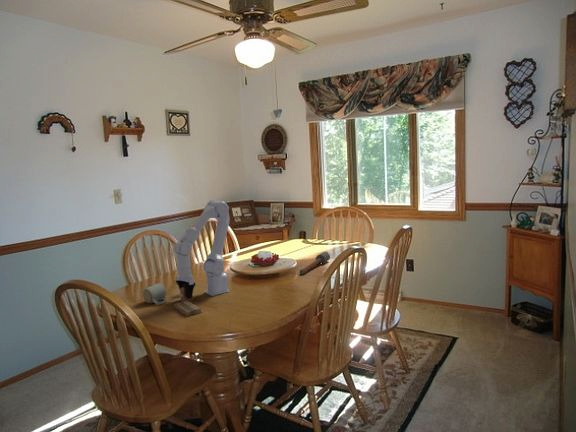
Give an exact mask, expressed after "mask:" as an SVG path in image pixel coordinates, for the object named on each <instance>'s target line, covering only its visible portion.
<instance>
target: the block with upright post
mask: <svg viewBox="0 0 576 432" xmlns="http://www.w3.org/2000/svg"><path fill="white" fill-rule="evenodd" d="M179 292H180V293H179V294H175V295H172V296H168V300H170V301H173V300H176V299H180V302H183V301H189V302H193V301H194V297H193V294H192V298H189V299H187V297H186V292H185V289H184V287H182V288H180V289H179Z"/></svg>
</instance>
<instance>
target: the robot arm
mask: <svg viewBox="0 0 576 432" xmlns="http://www.w3.org/2000/svg"><path fill="white" fill-rule="evenodd" d="M229 212H230V207H229V205H228V204H227V202H226V201H223V200H221V201H218V200H215V199H214V200H213V199H212V200H209V201H208V202H207V204H206V205H205V206H204V208H203V211H202V212H201V214H200V216H199V217H198V218H197V221H196V222H195V223H194V225H193V226H191V227H188V228H186V230H185V233H184V234H183V235H182V237H180V238H179V241H177V242H176V243H175V244H174V247H173V251H174V253H175V254H176V263H177V274H176V278H175V283H176V284H177V286H178V289H179V290H180V288H182V287H184V289H185V292H186V297H187V299H189V298H192V295H193V293H194V288H195V286H196V282H195V280H194V279H193V275H192V267H191V266H192V265H191V256H190V253H191V252H192V249H193V245H194V244H195V243H196V241H197V240H198V238H199V237H200V235H201V234H200V231H201V230H202V229H203V227H204V226H205V225H206V224H207V222H208V221H209V220H210V219H211V218H215V220H216V221H217V223H216V228H215V232H214V236H213V241H212V245H211V248H210V253H209V254H208V255H207V257H206V259H205V260H204V262H203V265H202V267H203V271H205V273H206V274H205V275H206V285H207V288H206V289H207V290H204V293H205V294H208V295H209V296H210V297H212V296H213V297H214V296H217V295H221V294H224V293H229V292H230V290H229V280H228V275H227V273H226V272H224V271H225V266H224V264H225V260H224V259H225V258H224V257H223V252H224V248H225V243H226V237H227V236H228V235H227V233H228V230H229V226H230V220H231V218H230V213H229Z"/></svg>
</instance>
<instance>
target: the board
mask: <svg viewBox="0 0 576 432" xmlns="http://www.w3.org/2000/svg"><path fill="white" fill-rule="evenodd" d="M173 307H174V308H175V309H176V310H178V311H179V312H180V313H182V314H184V315H185V316H186V317H191V316H194V315H197V314H201V313H202V309H201V308H200V307H199V306H198V305H195V304H194V303H192V301H179V302H175V303H174V306H173Z"/></svg>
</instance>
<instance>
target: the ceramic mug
mask: <svg viewBox="0 0 576 432" xmlns="http://www.w3.org/2000/svg"><path fill="white" fill-rule="evenodd" d="M142 297H143V300H144V302H145V303H148V304H153V303H154V304H155V305H160V304H161V305H164V304H165V303H166V301H167V291H166V288H165V286H164V285H163V284H162V283H161V282H158V283H155V284H153V285H151V286H149V287H145V289H143V291H142Z"/></svg>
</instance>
